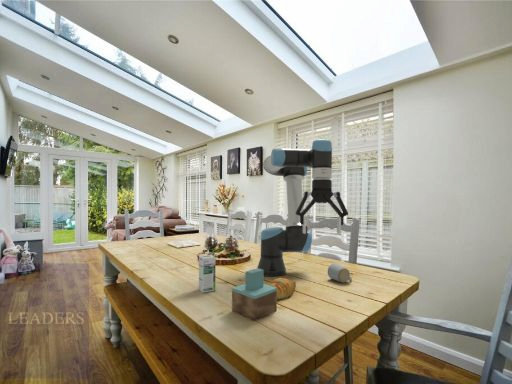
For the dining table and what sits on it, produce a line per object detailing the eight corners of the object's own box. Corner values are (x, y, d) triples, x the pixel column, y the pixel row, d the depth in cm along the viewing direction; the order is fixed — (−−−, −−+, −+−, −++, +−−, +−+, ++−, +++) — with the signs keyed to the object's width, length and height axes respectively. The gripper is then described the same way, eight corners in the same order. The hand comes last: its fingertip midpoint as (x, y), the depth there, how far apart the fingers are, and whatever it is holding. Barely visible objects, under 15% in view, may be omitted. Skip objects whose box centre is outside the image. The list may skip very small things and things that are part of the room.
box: (232, 310, 96) (232, 290, 96) (253, 302, 104) (254, 283, 104) (254, 321, 88) (254, 299, 88) (276, 310, 96) (276, 290, 96)
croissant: (270, 313, 102) (278, 296, 100) (252, 295, 108) (259, 279, 105) (299, 296, 119) (306, 281, 116) (281, 281, 124) (288, 267, 122)
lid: (232, 295, 96) (232, 270, 96) (254, 287, 104) (254, 265, 104) (254, 304, 88) (255, 277, 88) (276, 295, 96) (276, 270, 96)
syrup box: (202, 293, 113) (202, 257, 113) (198, 288, 118) (198, 255, 118) (215, 291, 115) (215, 256, 116) (211, 287, 121) (211, 253, 121)
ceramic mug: (338, 284, 126) (339, 267, 126) (327, 279, 133) (327, 263, 133) (356, 282, 130) (356, 265, 130) (343, 277, 137) (344, 261, 138)
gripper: (291, 178, 105) (290, 234, 104) (357, 179, 104) (356, 235, 104) (289, 179, 112) (288, 231, 112) (350, 180, 112) (350, 232, 111)
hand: (321, 233), depth 108 cm, fingers open, 13 cm apart
